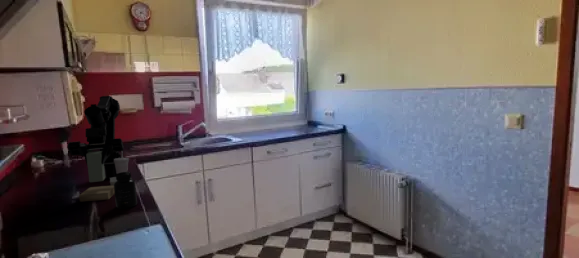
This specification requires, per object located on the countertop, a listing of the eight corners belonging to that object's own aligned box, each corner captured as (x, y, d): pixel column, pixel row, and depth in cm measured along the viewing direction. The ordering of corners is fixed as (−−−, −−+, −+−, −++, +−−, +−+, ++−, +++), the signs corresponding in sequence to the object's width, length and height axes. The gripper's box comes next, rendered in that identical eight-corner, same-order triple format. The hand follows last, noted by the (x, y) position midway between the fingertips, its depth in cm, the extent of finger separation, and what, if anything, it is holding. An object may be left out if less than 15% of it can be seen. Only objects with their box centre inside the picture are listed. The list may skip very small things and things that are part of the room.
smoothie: (132, 178, 155) (132, 149, 154) (122, 181, 149) (121, 151, 148) (121, 177, 157) (120, 148, 155) (111, 180, 151) (109, 150, 149)
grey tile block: (110, 186, 143) (109, 177, 143) (131, 183, 147) (130, 174, 147) (111, 191, 136) (110, 182, 136) (132, 188, 140) (131, 179, 140)
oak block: (91, 194, 134) (90, 187, 134) (117, 192, 136) (116, 185, 135) (80, 202, 124) (79, 195, 124) (108, 200, 126) (107, 192, 126)
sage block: (92, 179, 131) (89, 152, 129) (105, 177, 132) (102, 150, 131) (89, 182, 126) (86, 154, 125) (103, 180, 128) (99, 153, 126)
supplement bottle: (117, 204, 120) (114, 172, 119) (137, 201, 123) (134, 170, 121) (114, 210, 114) (111, 176, 112) (136, 207, 116) (133, 174, 115)
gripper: (65, 121, 127) (60, 155, 118) (119, 118, 133) (118, 150, 124) (73, 138, 135) (69, 171, 126) (124, 135, 141) (123, 166, 132)
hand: (94, 164), depth 127 cm, fingers closed on sage block, 5 cm apart
